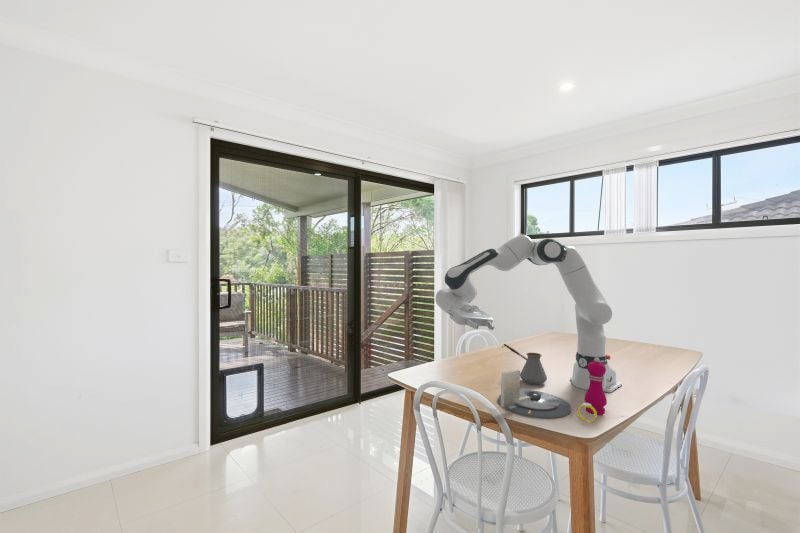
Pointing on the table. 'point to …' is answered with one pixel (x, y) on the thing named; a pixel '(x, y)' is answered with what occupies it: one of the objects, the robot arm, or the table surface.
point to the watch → (588, 407)
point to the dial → (524, 394)
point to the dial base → (560, 412)
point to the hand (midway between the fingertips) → (485, 327)
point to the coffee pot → (531, 368)
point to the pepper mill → (596, 387)
